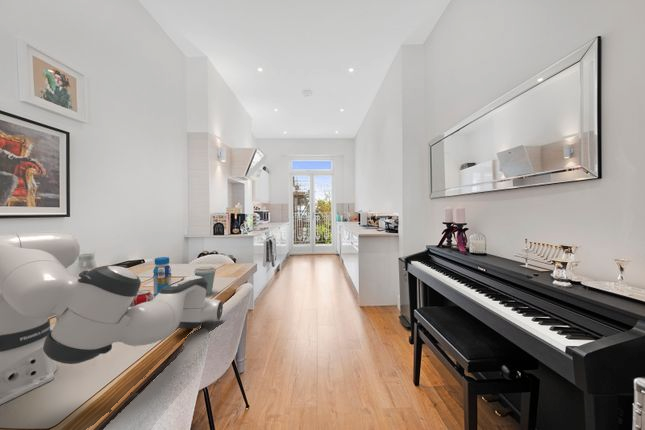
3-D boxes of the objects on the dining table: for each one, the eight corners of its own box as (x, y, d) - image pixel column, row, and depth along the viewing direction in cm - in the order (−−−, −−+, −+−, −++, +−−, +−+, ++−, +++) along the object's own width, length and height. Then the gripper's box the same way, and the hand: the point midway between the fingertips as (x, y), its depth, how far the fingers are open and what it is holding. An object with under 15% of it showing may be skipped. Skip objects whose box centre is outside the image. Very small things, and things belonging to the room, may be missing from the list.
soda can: (144, 325, 108) (143, 294, 108) (128, 324, 109) (127, 294, 109) (157, 318, 115) (156, 289, 115) (142, 317, 116) (141, 289, 116)
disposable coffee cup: (195, 293, 150) (195, 265, 150) (216, 291, 153) (216, 264, 153) (192, 299, 140) (192, 269, 140) (215, 296, 143) (215, 268, 143)
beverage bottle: (149, 297, 143) (148, 259, 143) (163, 292, 151) (162, 256, 151) (162, 298, 141) (161, 259, 141) (175, 293, 149) (174, 256, 149)
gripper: (165, 328, 100) (131, 326, 102) (198, 308, 120) (168, 307, 122) (165, 310, 100) (130, 309, 102) (197, 293, 120) (168, 292, 122)
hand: (151, 307), depth 112 cm, fingers closed, pressing on soda can
